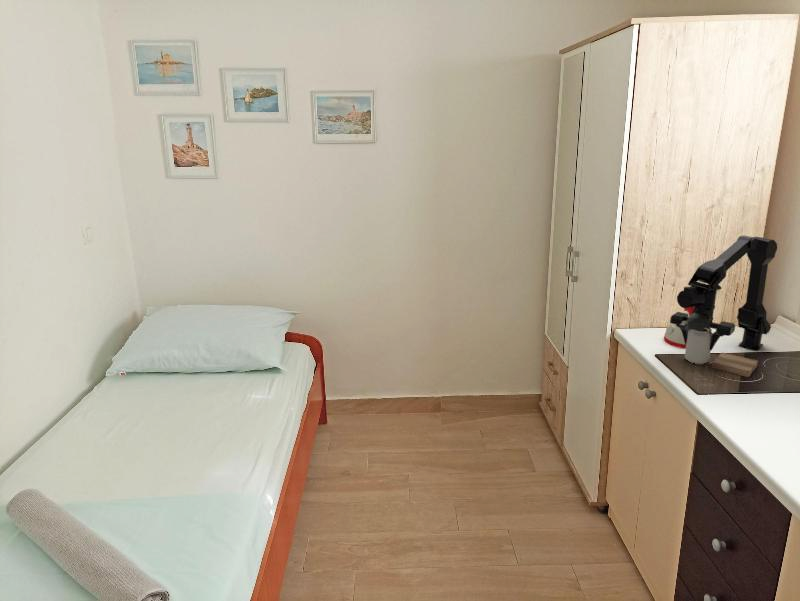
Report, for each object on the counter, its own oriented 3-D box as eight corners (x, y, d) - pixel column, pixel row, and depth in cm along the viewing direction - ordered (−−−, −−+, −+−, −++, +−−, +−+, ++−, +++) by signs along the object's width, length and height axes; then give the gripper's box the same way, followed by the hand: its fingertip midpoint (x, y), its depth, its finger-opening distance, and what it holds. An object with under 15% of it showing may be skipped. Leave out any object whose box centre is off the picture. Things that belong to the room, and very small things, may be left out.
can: (711, 366, 200) (716, 332, 196) (687, 364, 201) (692, 331, 198) (705, 357, 207) (710, 324, 203) (681, 355, 208) (686, 323, 204)
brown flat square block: (721, 359, 206) (722, 352, 206) (757, 367, 199) (758, 360, 199) (711, 369, 199) (712, 362, 198) (748, 378, 192) (749, 371, 191)
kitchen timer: (670, 348, 215) (675, 309, 210) (659, 334, 228) (664, 296, 223) (711, 349, 213) (717, 309, 208) (697, 335, 226) (703, 297, 221)
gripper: (666, 303, 198) (661, 347, 203) (728, 315, 186) (720, 362, 191) (679, 295, 206) (673, 337, 211) (738, 306, 194) (731, 351, 198)
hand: (698, 347), depth 202 cm, fingers closed on can, 7 cm apart
